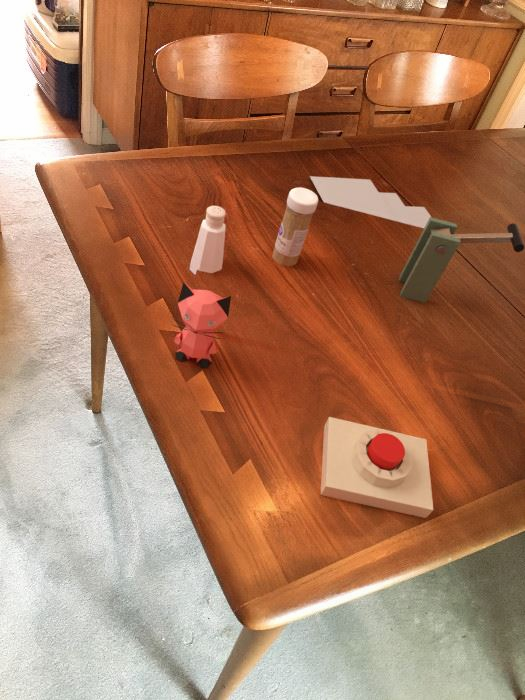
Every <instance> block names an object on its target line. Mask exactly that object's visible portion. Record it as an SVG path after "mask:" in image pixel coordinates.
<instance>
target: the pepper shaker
mask: <svg viewBox="0 0 525 700" xmlns="http://www.w3.org/2000/svg"><path fill="white" fill-rule="evenodd" d="M226 215H227V212H226V210H225V208H224V207H221V206H219V205H210V206H208V207H207V208H206V214H205V218H204V219H203V220H202V222H201V224H200V228H199V232H198V235H197V239H196V242H195V246H194V248H193V249H194V250H193V254H192V256H191V260H190V264H189V271H190V272H191V273H192V274H193V275H194V276H196V274H197V272H204V273H207V274H215V273H216V272H219V271H221V270H223V263H224V253H225V252H224V251H225V239H226V229H227V228H226V227H227V226H226V223H224V222H225V217H226Z"/></svg>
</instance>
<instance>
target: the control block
mask: <svg viewBox="0 0 525 700" xmlns="http://www.w3.org/2000/svg"><path fill="white" fill-rule="evenodd" d="M381 433H388V434H391V435H393V436H395V437H397V438H398V439H399V440H400V441H401V442H402V444H403V446H404V448H405V455H404V458H403V459H402V460H401V462H400V463H399V464H398V466H397V467H396V468H394V469H391V470H385V469H381V468H379V467H377V466H376V465H375V464H374V463H373V462H372V461H371V460H370V458H369V456H368V447H369V445H370V443H371V442H372V440H373V439H374V437H375V436H376V435H378V434H381ZM322 443H323V444H322V459H321V479H320V496H323V497H328V498H332V499H336V500H342V501H346V502H350V503H354V504H358V505H364V506H368V507H373V508H378V509H382V510H387V511H390V512H396V513H401V514H406V515H410V516H413V515H414V517H418V518H423V519H427V518H428V517H429V516H430V514H432V512H433V511H434V499H433V492H432V490H433V489H432V481H431V472H430V460H429V453H428V451H429V450H428V441H427V439H426V438H422V437H418V436H414V435H410V434H405V433H401V432H397V431H393V430H388V429H384V428H380V427H376V426H371V425H368V424H367V425H366V424H362V423H359V422H354V421H349V420H345V419H341V418H336V417H332V416H329V417H328V418H327V420H326V421H325V424H324V426H323V441H322Z"/></svg>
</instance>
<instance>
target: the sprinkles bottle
mask: <svg viewBox="0 0 525 700" xmlns="http://www.w3.org/2000/svg"><path fill="white" fill-rule="evenodd" d="M318 203H319V197H318V195H317V194H316V193H315V192H314V191H312V190H311V189H308V188H306V187H294V188H292V189H290V190H289V193H288V195H287V199H286V208H285V211H284V214H283V218H282V221H281V223H280V227H279V230H278V232H277V236H276V240H275V244H274V248H273V250H272V251H273V252H272V255H271V256H272V259H273V261H274V262H275V263H277V264H278V265H280V266H283V267H294V266H295V265H296V264H297V263H298V261H299V257H300V254H301V252H302V249H303V247H304V244H305V240H306V237H307V234H308V232H309V228H310V224H311V221H312V218H313V215H314V213H315V212H316V210H317V207H318Z"/></svg>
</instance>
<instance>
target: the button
mask: <svg viewBox="0 0 525 700" xmlns="http://www.w3.org/2000/svg"><path fill="white" fill-rule="evenodd" d="M404 455H405V448H404V446H403V444H402V442H401V441H400V440H399V439H398V438H397V437H395V436H393V435H391V434H388V433H381V434H378V435H376V436H375V437H374V439H373V440H372V442H371V443H370V445H369V447H368V456H369V458H370V460H371V461H372V462H373V463H374V464H375V465H376V466H377V467H379V468H381V469H385V470H391V469H394V468H396V467H397V466H398V464H399V463H400V462H401V460H402V459H403V458H404Z"/></svg>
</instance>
